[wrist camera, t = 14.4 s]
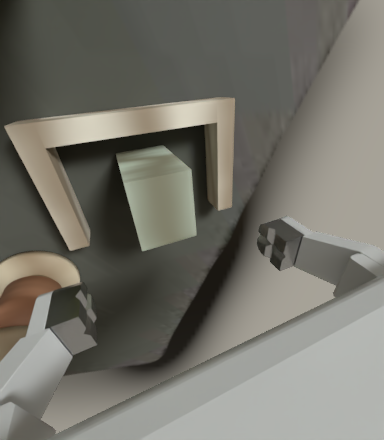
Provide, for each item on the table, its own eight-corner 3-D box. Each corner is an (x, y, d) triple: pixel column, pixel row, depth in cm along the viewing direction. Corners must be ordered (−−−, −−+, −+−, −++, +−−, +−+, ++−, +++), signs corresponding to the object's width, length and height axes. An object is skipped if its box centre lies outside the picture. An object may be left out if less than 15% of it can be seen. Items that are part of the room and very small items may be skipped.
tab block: (130, 206, 20) (142, 251, 14) (115, 153, 17) (123, 183, 12) (170, 196, 21) (196, 235, 15) (162, 145, 18) (191, 169, 13)
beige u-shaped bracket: (73, 234, 19) (70, 250, 17) (17, 121, 14) (3, 126, 12) (220, 196, 23) (231, 207, 21) (219, 97, 18) (235, 98, 16)
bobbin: (16, 314, 21) (-19, 410, 15) (-29, 265, 17) (-102, 366, 11) (89, 290, 23) (86, 367, 17) (63, 241, 19) (45, 316, 13)
